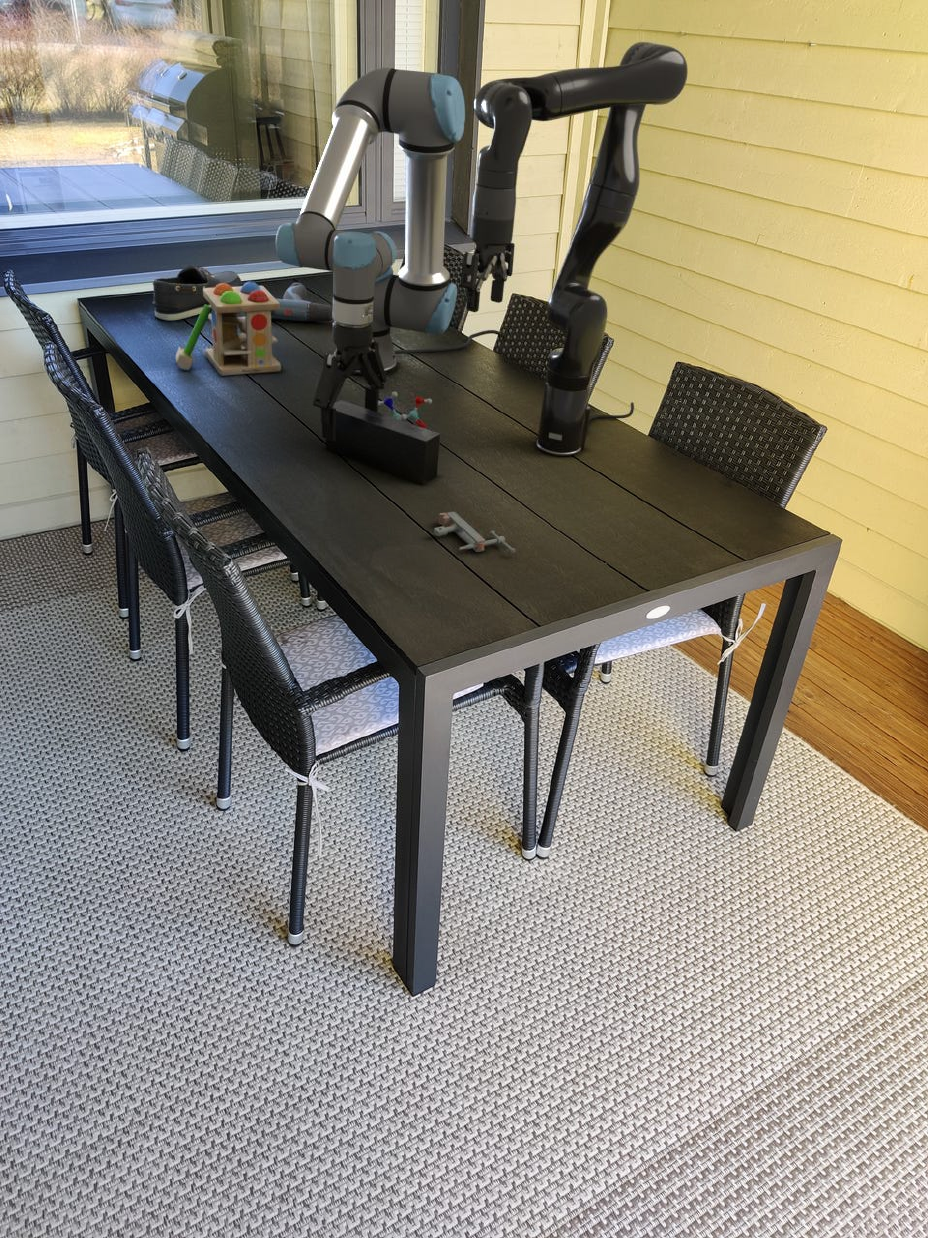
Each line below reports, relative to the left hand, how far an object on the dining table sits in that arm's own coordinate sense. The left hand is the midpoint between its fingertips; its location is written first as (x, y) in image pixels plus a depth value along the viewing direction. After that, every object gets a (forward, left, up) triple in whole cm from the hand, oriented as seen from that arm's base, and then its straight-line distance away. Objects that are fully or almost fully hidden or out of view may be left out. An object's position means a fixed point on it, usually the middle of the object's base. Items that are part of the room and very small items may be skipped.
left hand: (350, 429), depth 194 cm
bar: (-2, +7, -5) cm, 9 cm away
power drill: (-44, -77, -5) cm, 89 cm away
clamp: (+5, +40, -5) cm, 41 cm away
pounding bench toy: (-4, -54, -5) cm, 54 cm away
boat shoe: (-22, -96, -5) cm, 98 cm away
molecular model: (-15, -3, -5) cm, 16 cm away
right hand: (-17, +17, +27) cm, 36 cm away
